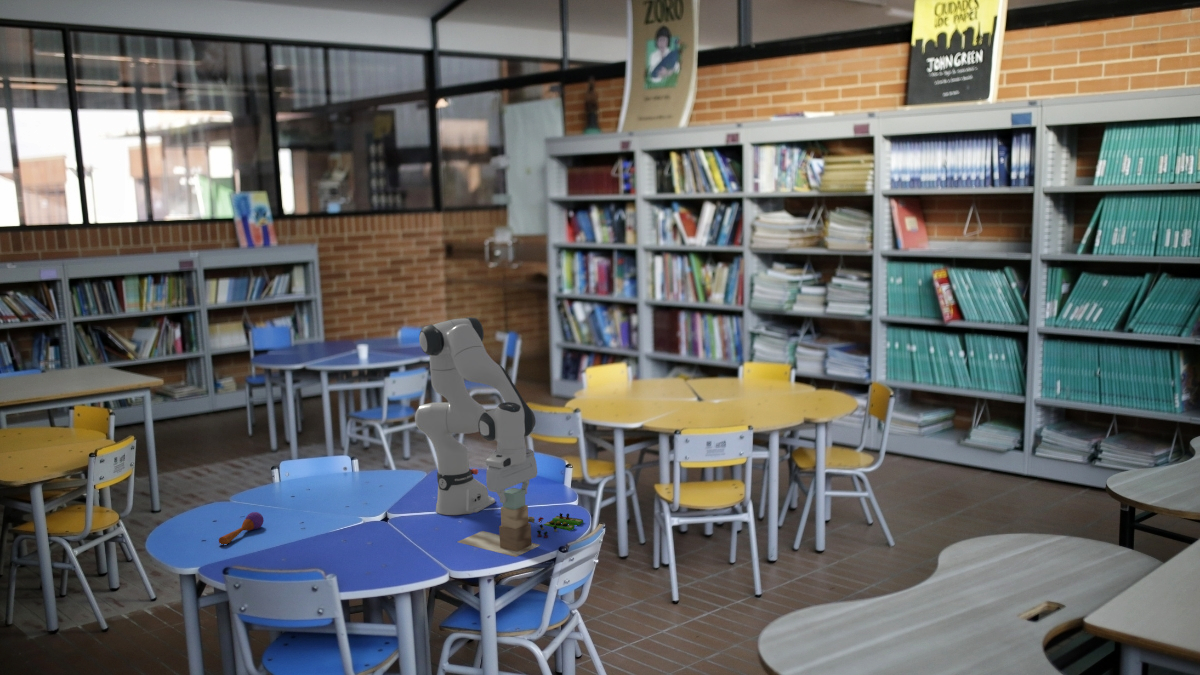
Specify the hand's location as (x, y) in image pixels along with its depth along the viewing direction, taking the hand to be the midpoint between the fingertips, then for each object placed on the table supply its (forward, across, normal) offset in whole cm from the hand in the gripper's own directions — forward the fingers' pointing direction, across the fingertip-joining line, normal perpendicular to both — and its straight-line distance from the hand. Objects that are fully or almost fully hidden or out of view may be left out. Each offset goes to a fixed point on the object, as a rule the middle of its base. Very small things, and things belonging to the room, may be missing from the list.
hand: (513, 498), depth 305 cm
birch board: (+17, +1, -6) cm, 18 cm away
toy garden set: (+18, -19, -5) cm, 27 cm away
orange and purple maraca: (+18, +38, -89) cm, 99 cm away
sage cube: (+3, 0, 0) cm, 3 cm away
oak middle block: (+9, 0, 0) cm, 9 cm away
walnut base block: (+16, 0, 0) cm, 16 cm away
